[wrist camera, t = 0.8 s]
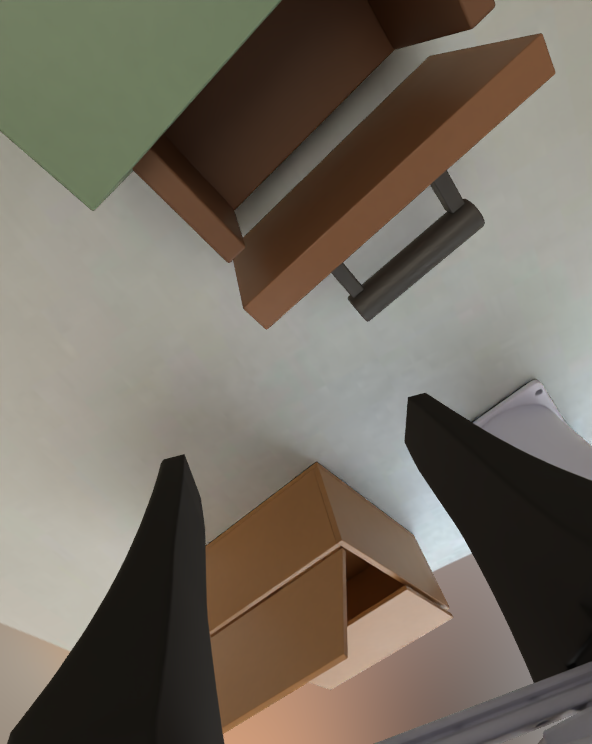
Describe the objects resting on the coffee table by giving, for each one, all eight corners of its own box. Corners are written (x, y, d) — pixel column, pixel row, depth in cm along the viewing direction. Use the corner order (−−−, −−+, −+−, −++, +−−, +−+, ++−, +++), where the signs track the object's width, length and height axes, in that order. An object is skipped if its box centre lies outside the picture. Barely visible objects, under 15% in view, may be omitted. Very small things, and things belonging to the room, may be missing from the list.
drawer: (484, 164, 20) (596, 189, 14) (303, 322, 22) (337, 396, 17) (200, -408, 11) (201, -967, 5) (-48, -30, 13) (-228, -126, 8)
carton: (199, 550, 32) (200, 649, 26) (316, 461, 30) (345, 550, 24) (311, 602, 39) (331, 690, 33) (413, 534, 37) (454, 617, 31)
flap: (201, 649, 26) (198, 646, 26) (345, 551, 24) (342, 547, 24) (156, 774, 20) (152, 770, 20) (348, 658, 17) (343, 654, 17)
